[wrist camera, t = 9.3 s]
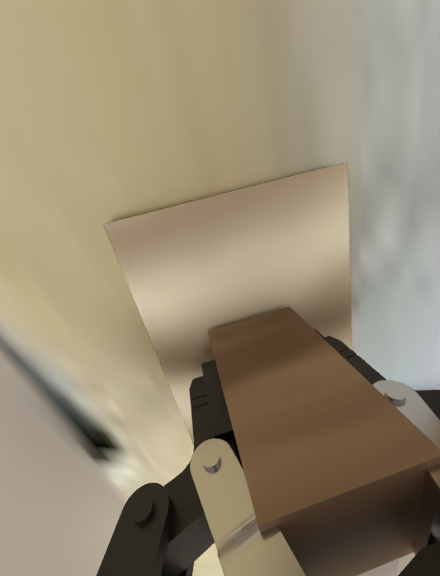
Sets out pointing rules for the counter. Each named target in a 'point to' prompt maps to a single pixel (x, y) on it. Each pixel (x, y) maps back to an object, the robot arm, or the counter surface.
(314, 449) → the brown block
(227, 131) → the counter surface
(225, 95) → the counter surface
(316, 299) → the board
